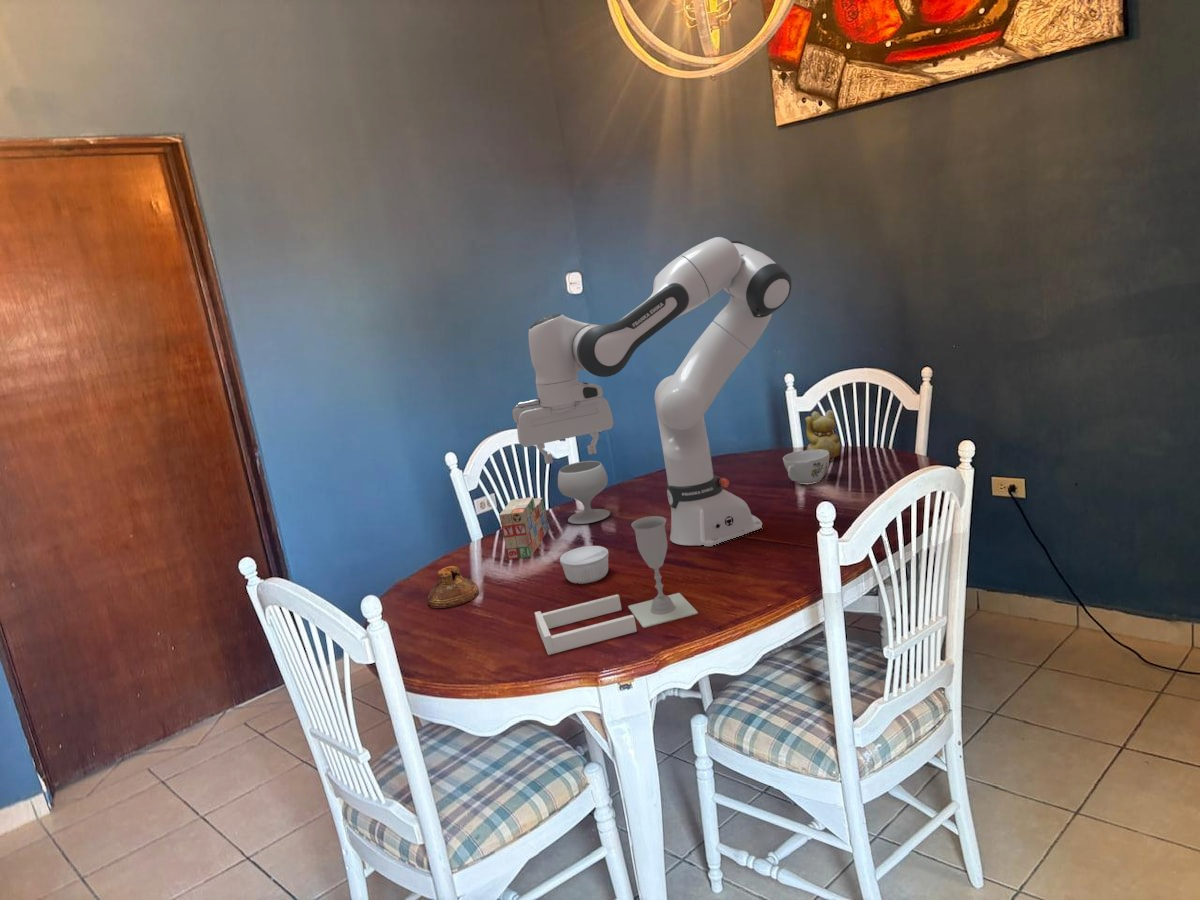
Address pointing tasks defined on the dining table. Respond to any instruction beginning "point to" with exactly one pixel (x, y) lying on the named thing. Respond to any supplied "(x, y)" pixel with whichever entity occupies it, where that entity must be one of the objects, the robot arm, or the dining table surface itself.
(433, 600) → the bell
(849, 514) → the dining table surface
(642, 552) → the chalice
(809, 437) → the decorative figurine
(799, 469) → the teacup
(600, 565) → the ramekin
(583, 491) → the chalice
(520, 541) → the stack of blocks
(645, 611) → the mat
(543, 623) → the frame
